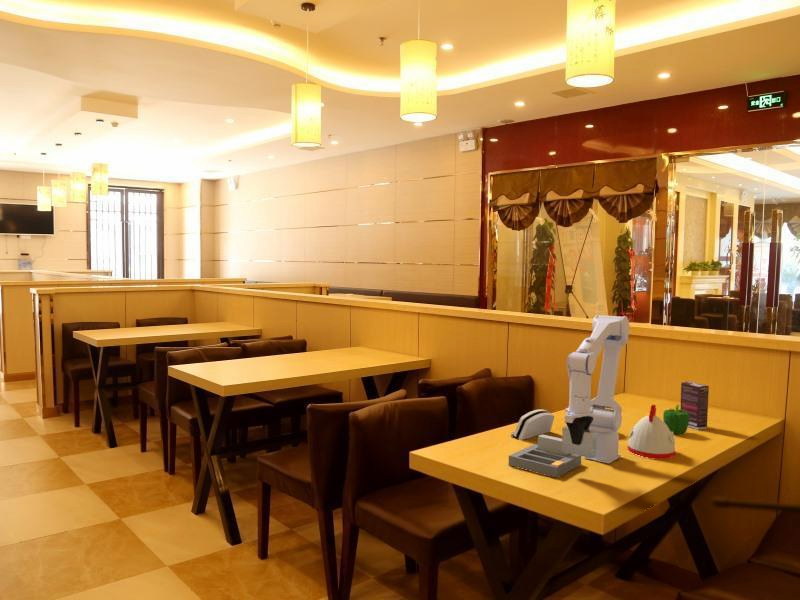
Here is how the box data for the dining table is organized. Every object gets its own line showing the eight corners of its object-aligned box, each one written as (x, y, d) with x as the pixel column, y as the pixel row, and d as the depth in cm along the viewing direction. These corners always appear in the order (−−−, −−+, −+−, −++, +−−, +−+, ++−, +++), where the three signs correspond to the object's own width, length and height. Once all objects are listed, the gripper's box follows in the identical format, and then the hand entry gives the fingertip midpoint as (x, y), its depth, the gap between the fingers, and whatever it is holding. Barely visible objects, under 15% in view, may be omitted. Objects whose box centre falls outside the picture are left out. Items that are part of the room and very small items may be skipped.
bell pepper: (681, 437, 213) (683, 409, 212) (658, 432, 219) (660, 404, 219) (693, 433, 218) (694, 405, 218) (670, 428, 225) (671, 401, 224)
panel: (565, 449, 178) (566, 425, 178) (596, 456, 172) (596, 431, 172) (561, 451, 176) (562, 427, 176) (592, 458, 170) (592, 433, 170)
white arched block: (539, 428, 223) (547, 404, 220) (549, 435, 220) (558, 411, 217) (509, 436, 212) (517, 411, 209) (519, 444, 209) (528, 419, 206)
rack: (534, 453, 195) (534, 431, 194) (581, 464, 184) (581, 441, 184) (508, 465, 183) (509, 442, 182) (556, 478, 173) (557, 453, 172)
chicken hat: (677, 450, 200) (679, 404, 198) (671, 461, 188) (673, 413, 187) (632, 443, 207) (633, 398, 206) (624, 454, 195) (625, 407, 194)
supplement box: (707, 429, 224) (709, 385, 223) (697, 430, 222) (699, 386, 221) (688, 423, 232) (690, 381, 231) (678, 424, 230) (680, 382, 229)
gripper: (577, 389, 181) (576, 434, 182) (554, 397, 170) (553, 445, 171) (600, 392, 177) (599, 439, 178) (579, 401, 166) (577, 451, 167)
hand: (578, 442), depth 174 cm, fingers closed on panel, 2 cm apart
